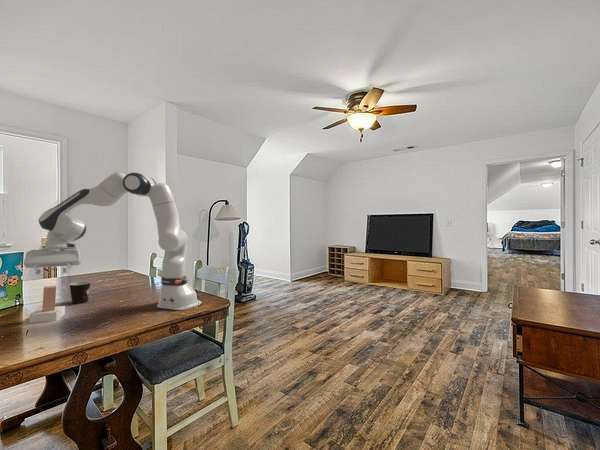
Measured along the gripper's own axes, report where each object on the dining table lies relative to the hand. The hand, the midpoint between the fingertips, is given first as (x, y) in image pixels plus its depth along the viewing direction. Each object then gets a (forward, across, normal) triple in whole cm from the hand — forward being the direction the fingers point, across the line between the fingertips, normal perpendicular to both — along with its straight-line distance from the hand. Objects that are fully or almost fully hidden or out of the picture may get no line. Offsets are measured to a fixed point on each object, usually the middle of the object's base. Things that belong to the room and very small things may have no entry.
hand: (51, 272), depth 127 cm
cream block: (+18, 0, +9) cm, 20 cm away
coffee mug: (+2, +10, +25) cm, 27 cm away
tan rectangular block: (+15, 0, +6) cm, 16 cm away
